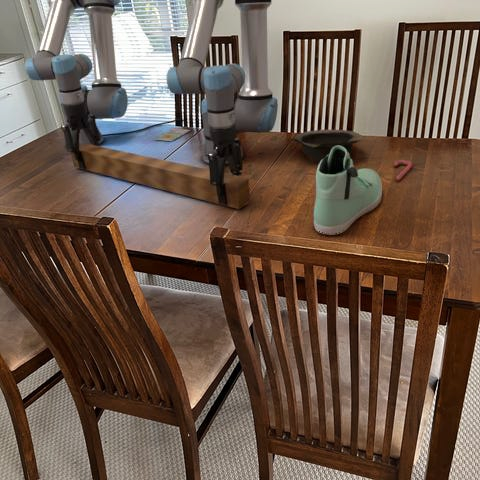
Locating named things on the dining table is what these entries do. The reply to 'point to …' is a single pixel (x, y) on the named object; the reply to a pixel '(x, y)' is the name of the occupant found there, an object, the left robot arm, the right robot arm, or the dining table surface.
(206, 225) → the dining table surface
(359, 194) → the sneaker
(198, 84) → the right robot arm
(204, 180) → the beam
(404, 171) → the candy cane
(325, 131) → the stone bowl
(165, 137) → the baking ingredient package
